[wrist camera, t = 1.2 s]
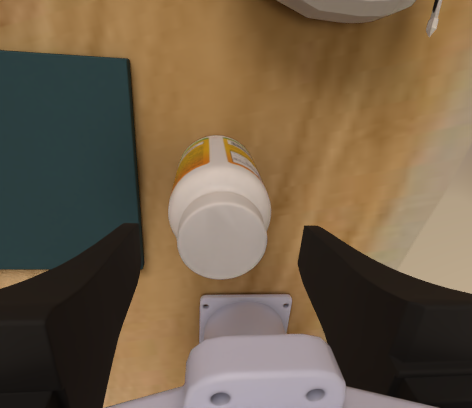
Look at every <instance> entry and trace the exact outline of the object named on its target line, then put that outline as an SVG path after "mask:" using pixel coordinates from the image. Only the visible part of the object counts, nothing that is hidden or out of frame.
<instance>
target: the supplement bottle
mask: <svg viewBox="0 0 472 408" xmlns="http://www.w3.org/2000/svg"><path fill="white" fill-rule="evenodd" d="M168 216H169V222H170V226H171V228H172V231H173V233H174V234H175V236H176V238H177V246H178V251H179V254H180V256H181V258H182V260H183V262H184V263H185V264H186V265H187V266H188V267H189V268H190V269H191V270H192V271H194V272H195V273H197V274H199V275H201V276H203V277H207V278H211V279H221V280H223V279H231V278H235V277H238V276H241V275H243V274H245V273H247V272H248V271H250V270H251V269H253V268H254V267H255V266H256V265H257V264H258V262H259V261H260V260H261V258H262V257H263V255H264V252H265V250H266V246H267V232H266V231H267V229H268V227H269V223H270V219H271V204H270V200H269V196H268V193H267V191H266V188H265V186H264V184H263V182H262V180H261V177H260V175H259V173H258V170H257V168H256V166H255V164H254V162H253V159H252V157H251V156H250V154H249V152H248V151H247V150H246V148H245V147H244V146H243V145H241V144H240V143H239V142H237V141H236V140H234V139H231V138H229V137H225V136H218V135H214V136H207V137H204V138H202V139H199V140H197V141H196V142H194V143H193V144H191V145H190V146H189V147H188V148H187V149H186V151H185V152H184V154H183V155H182V157H181V159H180V162H179V165H178V169H177V173H176V177H175V181H174V185H173V189H172V192H171V196H170V201H169V208H168Z"/></svg>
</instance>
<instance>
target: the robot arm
mask: <svg viewBox="0 0 472 408" xmlns="http://www.w3.org/2000/svg"><path fill="white" fill-rule="evenodd" d="M141 264H142V262H141V249H140V236H139V223H123V224H121V225H120V226H119V227H117V228H116V229H114V230H113V231H112V232H111V233H109V234H108V235H106V236H105V237H104V238H102V239H101V240H100V241H98V242H97V243H95V244H94V245H92V246H91V247H89V248H88V249H86V250H85V251H83V252H82V253H80V254H79V255H77V256H75V257H74V258H72V259H70V260H68V261H67V262H65V263H63V264H61V265H59V266H57V267H55V268H53V269H51V270H49V271H46V272H44V273H42V274H39V275H37V276H35V277H32V278H30V279H28V280H25V281H22V282H19V283H17V284H14V285H11V286H8V287H5V288H2V289H0V408H103V403H104V399H105V394H106V389H107V384H108V380H109V375H110V371H111V366H112V362H113V358H114V354H115V350H116V345H117V341H118V337H119V334H120V331H121V328H122V325H123V322H124V319H125V317H126V314H127V311H128V308H129V306H130V303H131V300H132V298H133V295H134V292H135V289H136V286H137V283H138V279H139V274H140V269H141ZM298 267H299V271H300V275H301V278H302V282H303V284H304V287H305V289H306V291H307V294H308V296H309V298H310V301H311V303H312V305H313V307H314V310H315V312H316V314H317V316H318V319H319V321H320V323H321V326H322V328H323V331H324V333H325V336H326V340H327V343H328V344H327V343H326V342H325V341H324V340H322V339H321V338H320V337H316V336H311V335H305V334H286V333H287V327H288V321H289V316H290V310H291V304H292V298H291V296H290V295H288V294H247V295H203V296H202V297H201V298H200V334H199V345H197V346H196V347H194V348H193V349H192V350H191V352H190V354H189V357H188V359H187V362H186V374H185V384H184V385H183V386H181V387H178V388H174V389H170V390H167V391H163V392H160V393H156V394H152V395H149V396H145V397H142V398H138V399H134V400H131V401H127V402H124V403H120V404H116V405H113V406H109V407H105V408H472V294H470V293H465V292H461V291H457V290H453V289H449V288H445V287H441V286H438V285H435V284H432V283H429V282H425V281H422V280H420V279H417V278H414V277H412V276H409V275H406V274H404V273H401V272H399V271H396V270H394V269H392V268H390V267H388V266H385V265H383V264H381V263H379V262H377V261H375V260H373V259H371V258H370V257H368V256H366V255H364V254H362V253H361V252H359V251H357V250H356V249H354V248H352V247H351V246H349V245H348V244H346V243H345V242H343V241H341V240H340V239H338V238H337V237H335V236H334V235H332V234H331V233H329V232H328V231H326V230H324V229H323V228H321V227H319V226H304V230H303V236H302V242H301V247H300V253H299V259H298ZM205 304H207V306H204V305H205ZM284 304H286V305H284Z"/></svg>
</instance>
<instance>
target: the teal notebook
mask: <svg viewBox="0 0 472 408" xmlns="http://www.w3.org/2000/svg"><path fill="white" fill-rule="evenodd" d="M123 223H139V236H140V249H141V262H142V264H141V269H143V266H144V253H143V240H142V226H141V212H140V198H139V185H138V171H137V157H136V143H135V129H134V116H133V102H132V88H131V74H130V61H129V59H125V58H109V57H94V56H79V55H64V54H49V53H34V52H19V51H4V50H0V269H53V268H55V267H57V266H59V265H61V264H63V263H65V262H67V261H68V260H70V259H72V258H74V257H75V256H77V255H79V254H80V253H82V252H83V251H85V250H86V249H88V248H89V247H91V246H92V245H94V244H95V243H97V242H98V241H100V240H101V239H102V238H104V237H105V236H106V235H108V234H109V233H111V232H112V231H113V230H114V229H116V228H117V227H119V226H120V225H121V224H123Z"/></svg>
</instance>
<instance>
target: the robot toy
mask: <svg viewBox="0 0 472 408" xmlns="http://www.w3.org/2000/svg"><path fill="white" fill-rule="evenodd" d="M276 1H278V2H280V3H282V4H284V5H285V6H287V7H289V8H291V9H293V10H294V11H296V12H298V13H300V14H302V15H303V16H305V17H307V18H312V19H319V20H326V21H333V22H340V23H365V22H371V21H375V20H377V19H380V18H383V17H385V16H388V15H391V14H393V13H396V12H398V11H401V10H403V9H405V8H408V7H410V6H412V4H413V3H414V2H415V1H416V0H276ZM441 3H442V0H435V2H434V6H433V10H432V14H431V18H430V20H429V21H428V24H427V28H426V32H427V34H428V36H429V37H430V35H431V34H432V33H433V32H434V31H435V30H436V28H437V24H438V20H439V19H438V14H439V11H440V7H441Z"/></svg>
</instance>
